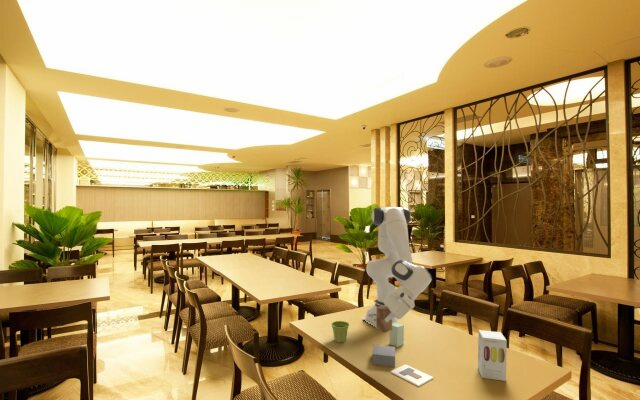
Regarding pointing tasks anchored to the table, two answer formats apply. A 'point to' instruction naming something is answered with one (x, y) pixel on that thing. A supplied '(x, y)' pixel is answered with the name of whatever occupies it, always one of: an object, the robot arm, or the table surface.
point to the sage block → (397, 334)
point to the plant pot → (340, 330)
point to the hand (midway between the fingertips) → (382, 317)
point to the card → (412, 375)
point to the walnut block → (381, 323)
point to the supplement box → (492, 355)
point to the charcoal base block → (383, 355)
